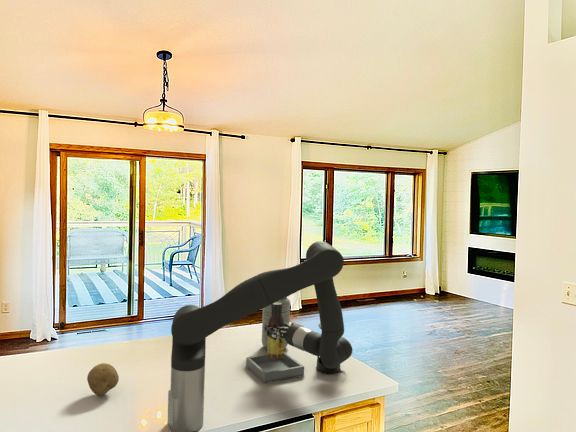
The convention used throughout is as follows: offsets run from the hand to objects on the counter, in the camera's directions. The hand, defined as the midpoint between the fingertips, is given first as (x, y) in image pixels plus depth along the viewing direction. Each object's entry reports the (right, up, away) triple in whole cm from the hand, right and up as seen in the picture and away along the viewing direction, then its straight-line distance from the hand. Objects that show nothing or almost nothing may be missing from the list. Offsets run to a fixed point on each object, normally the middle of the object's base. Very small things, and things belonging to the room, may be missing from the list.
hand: (272, 325), depth 156 cm
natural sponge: (-53, -16, -24) cm, 60 cm away
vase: (0, -16, +23) cm, 28 cm away
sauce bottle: (+1, -11, -1) cm, 11 cm away
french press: (+22, -18, +3) cm, 28 cm away
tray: (+1, -17, -1) cm, 17 cm away
